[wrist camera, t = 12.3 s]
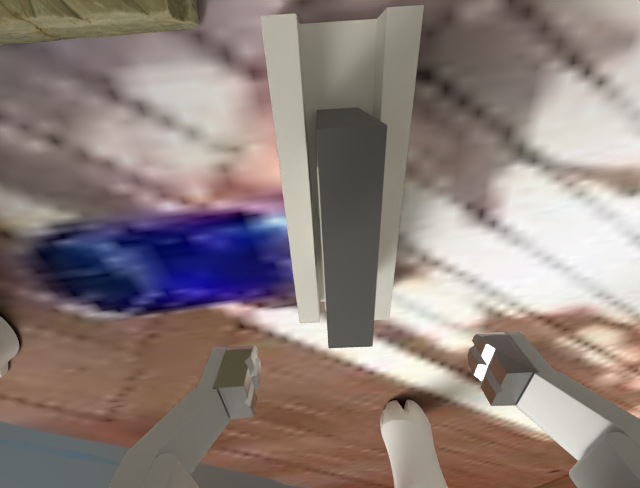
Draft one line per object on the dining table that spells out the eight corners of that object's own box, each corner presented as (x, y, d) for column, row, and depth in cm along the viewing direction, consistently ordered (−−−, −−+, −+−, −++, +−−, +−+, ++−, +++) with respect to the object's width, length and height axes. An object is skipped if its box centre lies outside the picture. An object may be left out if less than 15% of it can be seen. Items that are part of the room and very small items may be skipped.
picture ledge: (301, 296, 31) (299, 323, 27) (271, 28, 18) (260, 15, 15) (381, 292, 30) (389, 319, 27) (403, 19, 18) (424, 4, 15)
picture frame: (324, 264, 27) (327, 348, 18) (315, 109, 20) (313, 129, 11) (356, 262, 27) (373, 346, 18) (358, 107, 20) (389, 124, 11)
